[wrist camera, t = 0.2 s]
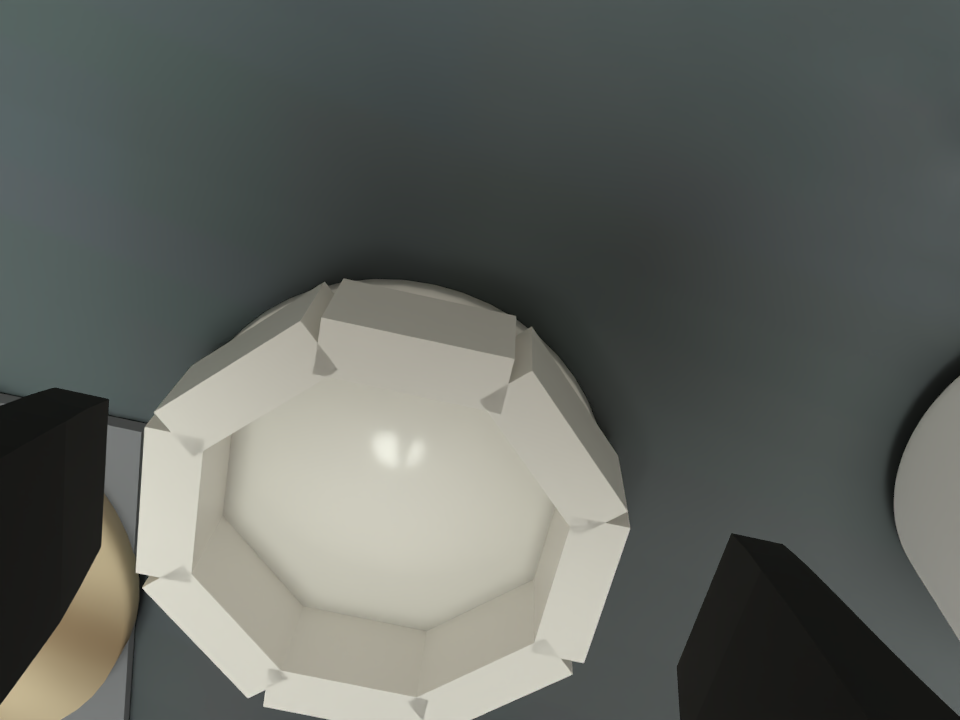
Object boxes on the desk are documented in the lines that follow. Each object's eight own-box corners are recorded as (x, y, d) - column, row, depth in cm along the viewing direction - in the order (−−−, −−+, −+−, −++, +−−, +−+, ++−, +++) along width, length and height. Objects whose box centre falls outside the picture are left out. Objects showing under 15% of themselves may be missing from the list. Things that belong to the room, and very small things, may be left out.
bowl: (547, 670, 24) (549, 762, 21) (175, 595, 23) (128, 679, 21) (656, 332, 20) (676, 393, 17) (206, 235, 19) (153, 281, 17)
